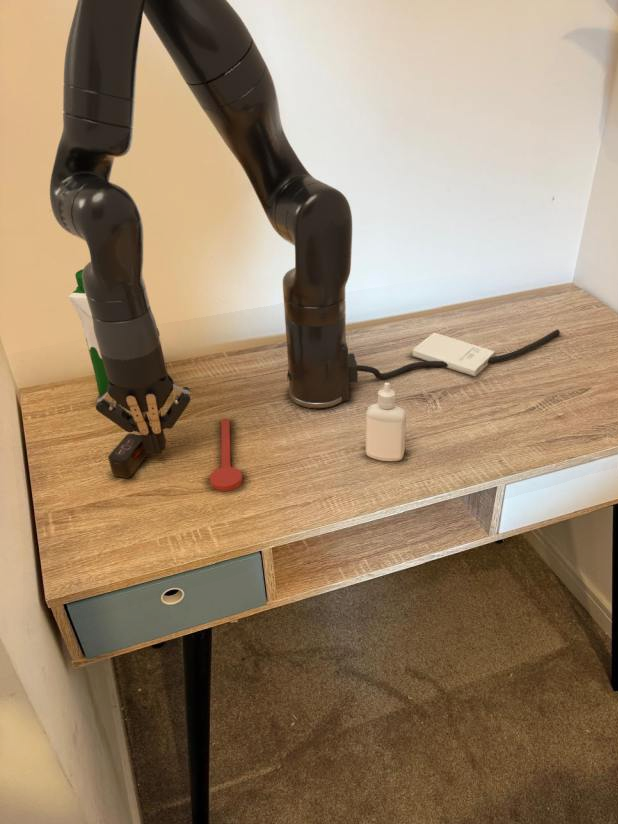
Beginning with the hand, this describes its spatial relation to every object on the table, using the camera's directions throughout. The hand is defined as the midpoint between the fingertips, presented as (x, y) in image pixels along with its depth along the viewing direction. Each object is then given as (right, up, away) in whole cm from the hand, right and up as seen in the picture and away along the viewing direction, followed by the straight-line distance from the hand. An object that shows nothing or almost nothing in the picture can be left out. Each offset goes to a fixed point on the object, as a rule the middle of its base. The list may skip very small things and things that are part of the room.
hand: (157, 451), depth 106 cm
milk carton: (-9, +10, +14) cm, 20 cm away
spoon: (+9, -1, +2) cm, 10 cm away
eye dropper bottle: (+32, 0, +3) cm, 33 cm away
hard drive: (+45, +19, +26) cm, 55 cm away
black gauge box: (-4, -2, +1) cm, 5 cm away
